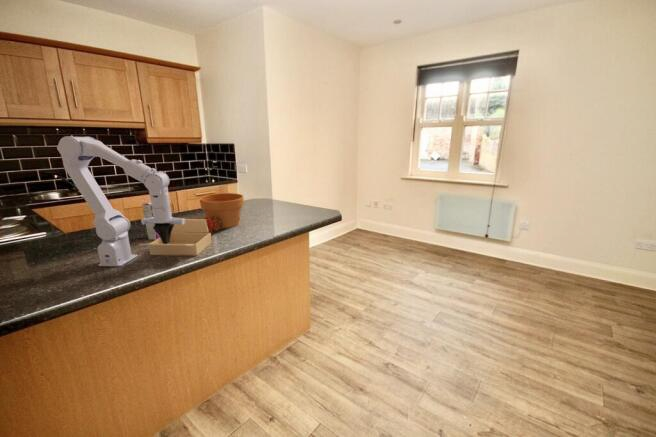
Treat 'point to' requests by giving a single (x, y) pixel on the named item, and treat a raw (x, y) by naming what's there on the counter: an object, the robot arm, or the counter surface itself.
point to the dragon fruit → (213, 224)
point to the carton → (184, 250)
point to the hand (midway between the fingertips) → (166, 242)
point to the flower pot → (223, 207)
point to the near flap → (166, 244)
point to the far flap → (191, 226)
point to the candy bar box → (151, 232)
